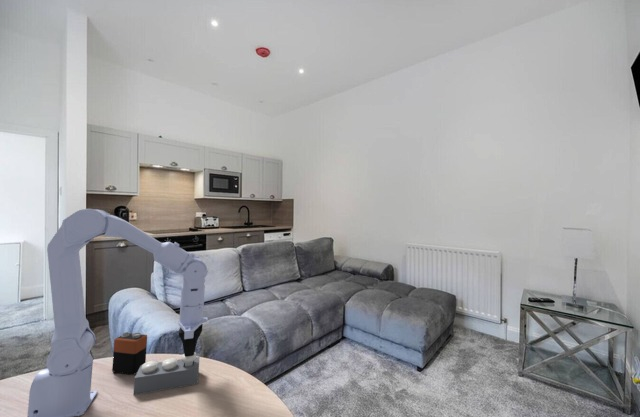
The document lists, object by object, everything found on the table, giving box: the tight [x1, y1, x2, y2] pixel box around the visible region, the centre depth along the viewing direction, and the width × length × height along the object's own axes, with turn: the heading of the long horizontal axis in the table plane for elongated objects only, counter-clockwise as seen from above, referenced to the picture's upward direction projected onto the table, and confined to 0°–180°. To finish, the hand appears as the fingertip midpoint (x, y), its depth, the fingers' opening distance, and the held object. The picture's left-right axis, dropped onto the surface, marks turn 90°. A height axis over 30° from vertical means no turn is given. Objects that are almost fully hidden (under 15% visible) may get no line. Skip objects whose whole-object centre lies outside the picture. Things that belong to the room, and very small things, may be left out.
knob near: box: [142, 360, 159, 373], centre depth 68 cm, size 3×3×5 cm
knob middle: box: [162, 357, 178, 370], centre depth 69 cm, size 3×3×5 cm
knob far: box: [181, 352, 197, 367], centre depth 71 cm, size 3×3×5 cm
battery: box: [111, 331, 148, 376], centre depth 74 cm, size 4×7×10 cm, turn 83°
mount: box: [132, 356, 200, 396], centre depth 69 cm, size 14×6×4 cm, turn 112°
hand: (189, 354), depth 71 cm, fingers closed, pressing on knob far
